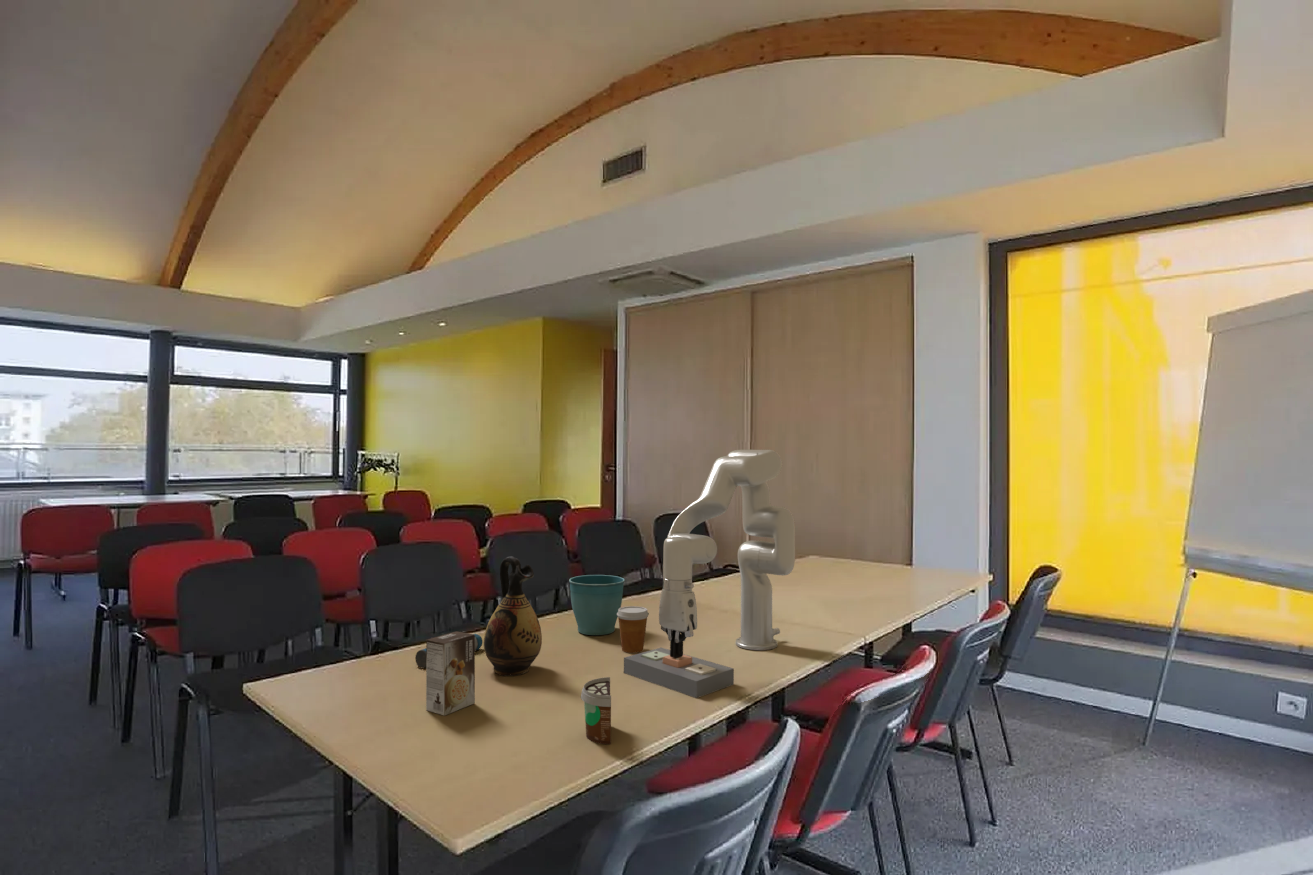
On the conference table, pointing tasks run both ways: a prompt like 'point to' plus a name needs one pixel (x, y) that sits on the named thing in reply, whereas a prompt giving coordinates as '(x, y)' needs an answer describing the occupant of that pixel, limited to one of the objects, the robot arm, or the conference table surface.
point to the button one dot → (700, 669)
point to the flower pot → (596, 602)
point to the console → (679, 674)
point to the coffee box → (450, 672)
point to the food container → (597, 710)
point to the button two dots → (654, 655)
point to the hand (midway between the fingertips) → (676, 656)
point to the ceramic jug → (513, 624)
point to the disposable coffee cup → (632, 628)
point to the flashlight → (422, 653)
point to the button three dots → (677, 661)
